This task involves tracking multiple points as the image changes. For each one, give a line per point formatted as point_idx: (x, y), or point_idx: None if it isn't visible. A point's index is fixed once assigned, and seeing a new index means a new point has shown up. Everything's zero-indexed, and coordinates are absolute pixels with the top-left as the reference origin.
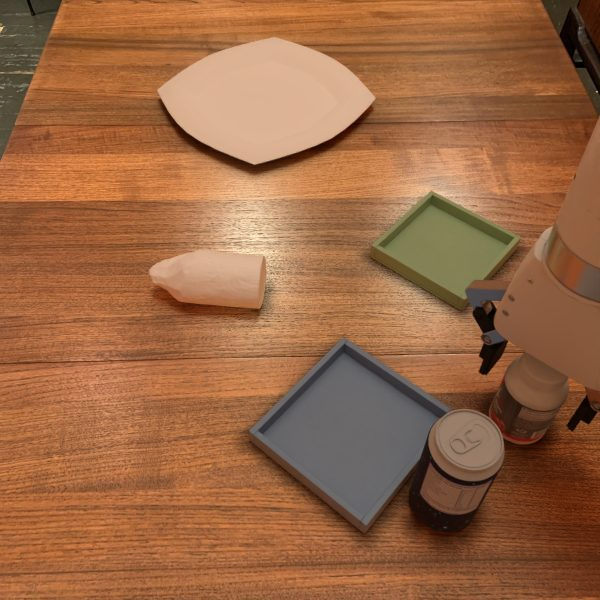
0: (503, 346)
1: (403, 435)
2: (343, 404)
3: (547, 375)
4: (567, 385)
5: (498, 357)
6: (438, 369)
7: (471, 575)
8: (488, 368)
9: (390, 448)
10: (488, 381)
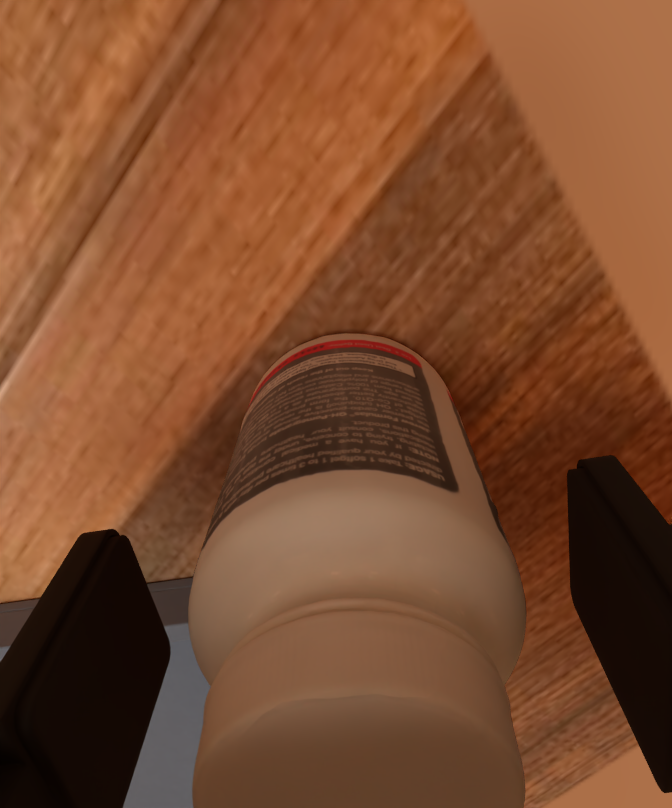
0: (90, 691)
1: (178, 696)
2: None
3: None
4: (498, 593)
5: (127, 615)
6: (36, 472)
7: (537, 775)
8: (153, 705)
9: (190, 734)
10: (173, 378)
